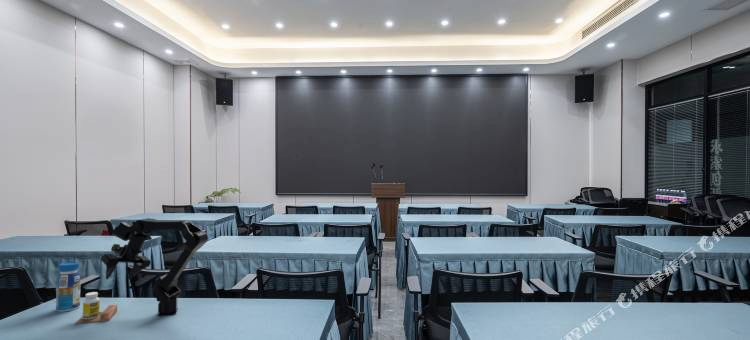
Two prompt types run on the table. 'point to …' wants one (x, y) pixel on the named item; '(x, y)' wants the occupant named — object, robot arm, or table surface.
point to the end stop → (101, 315)
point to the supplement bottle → (91, 306)
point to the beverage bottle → (68, 287)
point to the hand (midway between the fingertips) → (117, 278)
